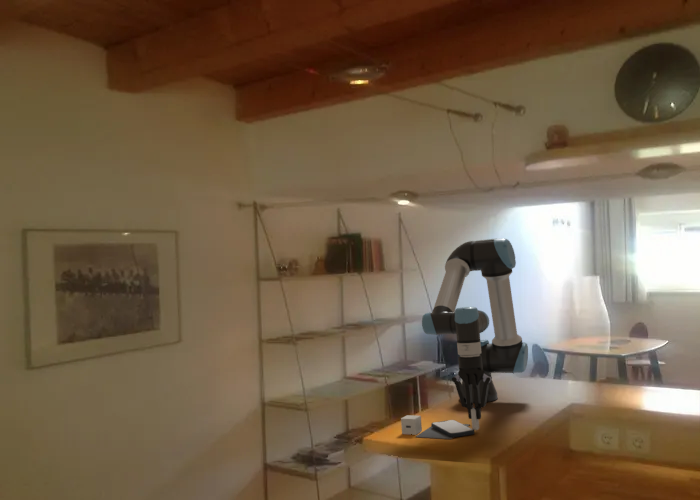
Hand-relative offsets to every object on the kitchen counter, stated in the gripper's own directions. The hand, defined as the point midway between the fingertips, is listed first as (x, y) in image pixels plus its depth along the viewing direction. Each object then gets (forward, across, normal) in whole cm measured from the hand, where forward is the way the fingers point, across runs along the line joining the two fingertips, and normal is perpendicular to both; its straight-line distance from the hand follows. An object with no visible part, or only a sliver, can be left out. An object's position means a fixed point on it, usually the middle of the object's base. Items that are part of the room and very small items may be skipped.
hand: (475, 429), depth 204 cm
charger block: (+1, -21, -4) cm, 21 cm away
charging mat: (+1, -11, 0) cm, 11 cm away
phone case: (+1, -8, 0) cm, 8 cm away
